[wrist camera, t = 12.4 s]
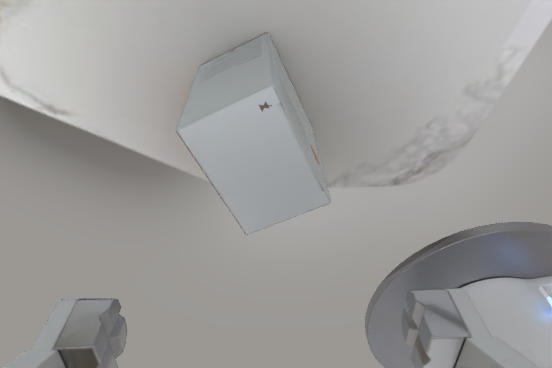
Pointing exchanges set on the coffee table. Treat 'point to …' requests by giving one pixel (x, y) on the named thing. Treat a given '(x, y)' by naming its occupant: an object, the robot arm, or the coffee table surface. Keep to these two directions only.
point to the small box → (253, 137)
